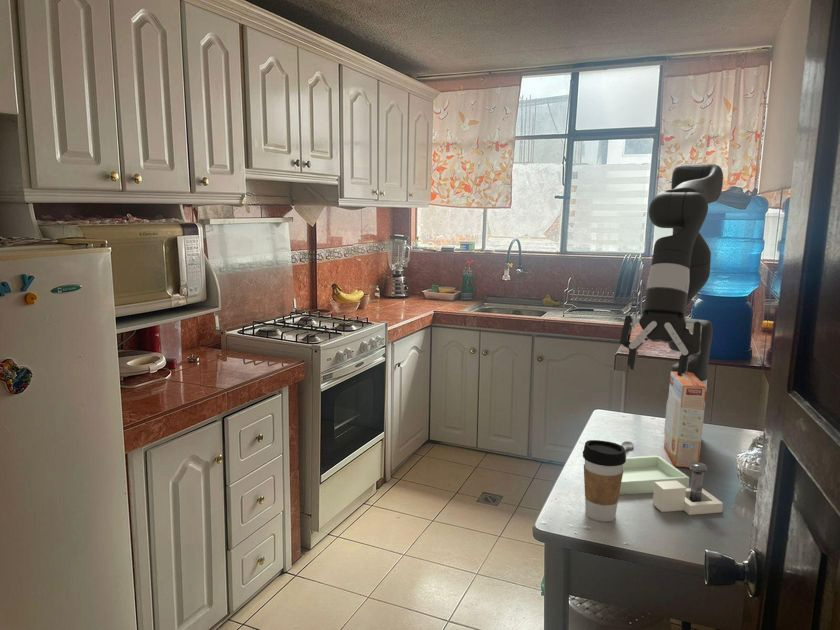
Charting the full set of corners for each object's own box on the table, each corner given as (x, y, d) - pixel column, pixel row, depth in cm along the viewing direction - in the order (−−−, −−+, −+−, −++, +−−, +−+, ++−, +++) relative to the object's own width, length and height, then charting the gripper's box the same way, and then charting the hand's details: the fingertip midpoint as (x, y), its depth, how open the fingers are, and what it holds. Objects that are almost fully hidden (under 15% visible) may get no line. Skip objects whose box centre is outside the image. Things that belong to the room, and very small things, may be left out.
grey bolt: (683, 502, 132) (687, 462, 130) (697, 500, 132) (700, 461, 131) (692, 509, 128) (696, 468, 127) (706, 508, 129) (710, 467, 127)
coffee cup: (575, 504, 130) (579, 437, 127) (615, 505, 130) (619, 438, 127) (584, 524, 122) (588, 453, 119) (627, 525, 121) (632, 454, 119)
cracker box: (700, 469, 148) (708, 386, 145) (673, 467, 149) (680, 384, 146) (687, 448, 162) (694, 371, 158) (663, 446, 163) (669, 370, 159)
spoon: (634, 447, 163) (635, 440, 162) (623, 465, 153) (624, 458, 152) (623, 444, 164) (623, 438, 164) (611, 463, 154) (612, 455, 154)
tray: (590, 471, 147) (590, 459, 146) (657, 467, 150) (658, 455, 149) (615, 495, 134) (616, 482, 134) (688, 490, 137) (689, 477, 137)
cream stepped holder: (700, 495, 135) (702, 474, 134) (722, 512, 127) (724, 489, 126) (647, 499, 132) (649, 477, 132) (667, 516, 125) (669, 493, 124)
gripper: (708, 298, 118) (698, 381, 116) (632, 292, 125) (621, 370, 123) (705, 288, 112) (694, 375, 109) (625, 283, 119) (613, 364, 117)
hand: (655, 372), depth 116 cm, fingers open, 8 cm apart
